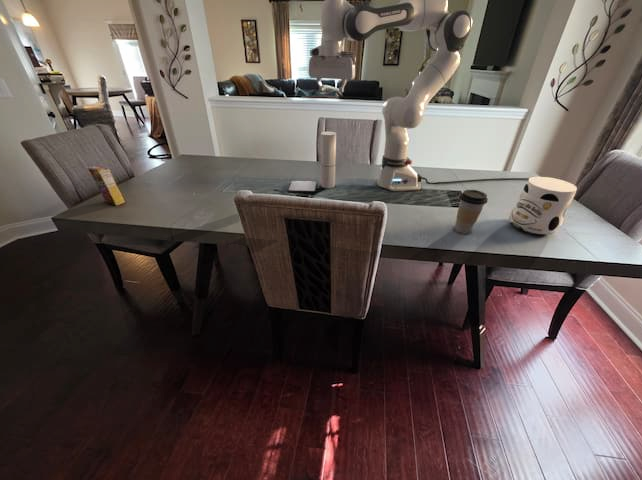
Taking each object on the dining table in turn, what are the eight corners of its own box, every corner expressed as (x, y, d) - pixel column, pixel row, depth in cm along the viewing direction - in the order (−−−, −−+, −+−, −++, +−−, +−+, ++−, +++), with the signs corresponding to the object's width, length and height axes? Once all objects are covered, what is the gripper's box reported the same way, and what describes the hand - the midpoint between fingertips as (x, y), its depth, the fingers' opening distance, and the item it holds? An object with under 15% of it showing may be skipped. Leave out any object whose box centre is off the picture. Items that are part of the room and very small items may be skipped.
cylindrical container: (335, 183, 148) (336, 131, 133) (334, 188, 142) (335, 135, 127) (321, 182, 149) (321, 131, 133) (320, 187, 143) (319, 134, 128)
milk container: (502, 230, 111) (522, 185, 100) (508, 214, 122) (527, 172, 111) (554, 243, 103) (582, 197, 92) (555, 225, 115) (580, 181, 104)
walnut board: (316, 183, 148) (316, 181, 147) (314, 193, 137) (314, 191, 137) (292, 182, 148) (292, 180, 147) (288, 192, 138) (288, 190, 137)
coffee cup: (468, 224, 114) (481, 188, 105) (479, 236, 107) (494, 199, 98) (446, 224, 114) (457, 188, 105) (455, 236, 106) (467, 199, 97)
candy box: (104, 201, 127) (86, 167, 117) (114, 198, 130) (97, 164, 120) (115, 206, 123) (98, 171, 114) (125, 202, 126) (109, 168, 117)
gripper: (358, 51, 112) (356, 92, 121) (313, 50, 119) (314, 89, 127) (353, 51, 108) (351, 93, 116) (306, 50, 114) (307, 90, 123)
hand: (331, 91), depth 122 cm, fingers open, 8 cm apart
